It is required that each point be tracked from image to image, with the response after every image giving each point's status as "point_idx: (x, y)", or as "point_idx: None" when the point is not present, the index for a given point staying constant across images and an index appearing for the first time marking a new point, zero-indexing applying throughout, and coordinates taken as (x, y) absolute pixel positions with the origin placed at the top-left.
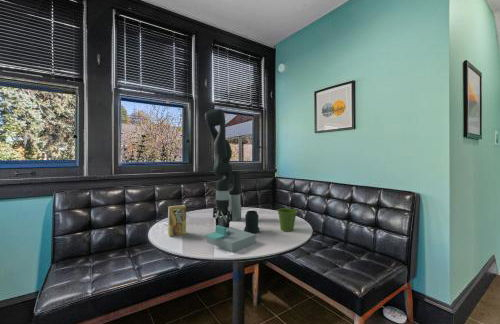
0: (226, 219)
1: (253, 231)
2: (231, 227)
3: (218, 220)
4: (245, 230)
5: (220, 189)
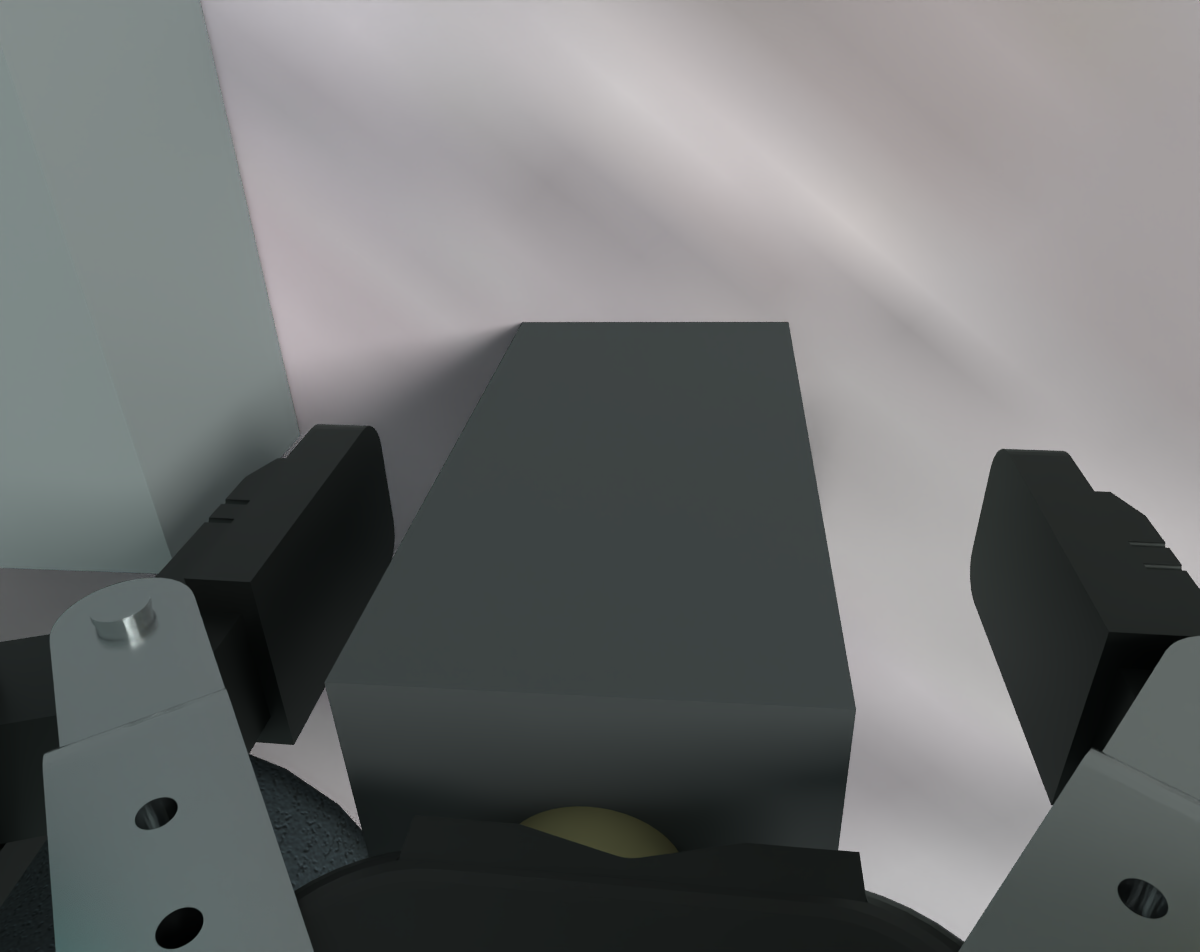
0: (60, 716)
1: None
2: (96, 547)
3: (826, 582)
4: None
5: None
